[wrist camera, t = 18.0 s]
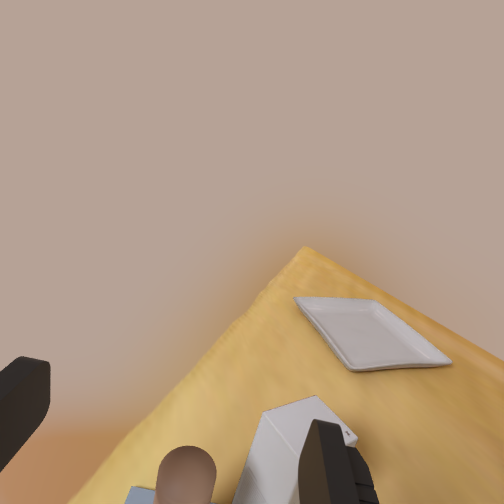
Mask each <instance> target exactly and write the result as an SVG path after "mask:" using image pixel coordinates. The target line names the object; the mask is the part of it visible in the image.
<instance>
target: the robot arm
mask: <svg viewBox="0 0 504 504" xmlns="http://www.w3.org/2000/svg"><path fill="white" fill-rule="evenodd" d="M49 405H50V364H49V362H47V361H43V360H38V359H33V358H28V357H24V356H23V357H22V356H21V357H18V358H16V359H15V360H14V361H13V362H11V363H10V364H9V365H8V366H7V367H5V368H4V369H3V370H2V371H0V472H1V471H2V470H3V469H4V467H5V466H6V465H7V464H8V463H9V461H10V460H11V459H12V458H13V457H14V455H15V454H16V453H17V452H18V451H19V449H20V448H21V447H22V446H23V445H24V443H25V442H26V441H27V440H28V438H29V437H30V436H31V435H32V434H33V432H34V431H35V430H36V429H37V428H38V427H39V425H40V424H41V422H42V421H43V419H44V418H45V416H46V414H47V411H48V408H49ZM298 488H299V501H300V504H379V501H378V497H377V494H376V491H375V490H374V484H373V481H372V478H371V474H370V471H369V468H368V465H367V464H366V462H365V461H364V459H363V458H362V456H361V455H360V453H359V452H358V450H357V449H356V448H355V447H350V446H346V445H345V441H344V437H343V433H342V429H341V427H340V425H339V424H337V423H332V422H327V421H322V420H318V419H313V421H312V423H311V425H310V428H309V431H308V434H307V437H306V440H305V443H304V446H303V449H302V451H301V454H300V458H299V464H298Z"/></svg>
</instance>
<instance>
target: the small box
mask: <svg viewBox="0 0 504 504" xmlns="http://www.w3.org/2000/svg"><path fill="white" fill-rule="evenodd" d="M313 419H318V420H322V421H327V422H332V423H337V424H339V425H340V427H341V429H342V433H343V437H344V441H345V445H346V446H350V447H355V445H356V443H357V441H358V437H357V436H356V435H355V434H354V433H353V432H352V431H351V430H350V429H349V428H348V427H347V426H346V424H345V423H344V422H343V421H342V420H341V419H340V418H339V417H338V416H337V415H336V414H335V413H334V412H333V411H332V410H331V409H329V407H328V406H327V405H326V404H325V403H323V402H322V401H321V400H320V399H319V398H318V397H317V396H316V395H314V396H311V397H308V398H305V399H302V400H299V401H296V402H293V403H289V404H286V405H283V406H280V407H277V408H274V409H271V410H267V411H264V412H263V413H262V416H261V419H260V422H259V425H258V428H257V431H256V434H255V437H254V440H253V443H252V446H251V448H250V451H249V454H248V457H247V460H246V463H245V466H244V469H243V472H242V475H241V477H240V481H239V483H238V486H237V489H236V492H235V495H234V498H233V501H232V504H300V501H299V488H298V464H299V458H300V454H301V451H302V449H303V446H304V443H305V440H306V437H307V434H308V431H309V428H310V425H311V423H312V421H313Z"/></svg>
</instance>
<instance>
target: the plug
mask: <svg viewBox="0 0 504 504" xmlns="http://www.w3.org/2000/svg"><path fill="white" fill-rule="evenodd" d="M215 480H216V466H215V463H214V461H213V459H212V457H211V456H210V455H209V454H208V453H207V452H206V451H204V450H203V449H201V448H198V447H195V446H182V447H178V448H176V449H174V450H172V451H171V452H169V453H168V454H167V455H166V456H165V457H164V459H163V460H162V462H161V464H160V466H159V470H158V476H157V482H156V489H155V495H154V501H153V504H210V501H211V497H212V493H213V489H214V485H215Z"/></svg>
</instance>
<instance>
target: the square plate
mask: <svg viewBox="0 0 504 504" xmlns="http://www.w3.org/2000/svg"><path fill="white" fill-rule="evenodd" d="M293 299H294V301H295V303H296V305H297V306H298V308H299V309H300V310H301V312H302V313H303V314H304V315H305V316H306V318H307V319H308V320H309V321H310V322H311V324H312V325H313V326H314V327H315V329H316V330H317V331H318V332H319V334H320V335H321V336H322V337H323V339H324V340H325V341H326V343H327V344H328V345H329V347H330V348H331V350H332V351H333V352H334V354H335V355H336V356H337V357H338V359H339V360H340V361H341V362H342V363H343V365H344V366H345V367H346V368H347V369H348V370H350V371H372V370H382V369H394V368H413V367H438V366H444V365H449V364H451V363H452V360H451V359H450V358H448V357H447V356H446V355H444V354H443V353H442V352H441V351H440V350H438V349H437V348H436V347H435V346H434V345H432V344H431V343H430V342H429V341H428V340H426V339H425V338H424V337H423V336H421V335H420V334H419V333H418V332H416V331H415V330H414V329H413V328H411V327H410V326H409V325H408V324H406V323H405V322H404V321H402V320H401V319H400V318H399V317H397V316H396V315H395V314H393V313H392V312H391V311H389V310H388V309H387V308H385V307H384V306H383V305H381V304H380V303H379V302H377V301H375V300H368V299H354V298H334V297H294V298H293Z"/></svg>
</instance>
